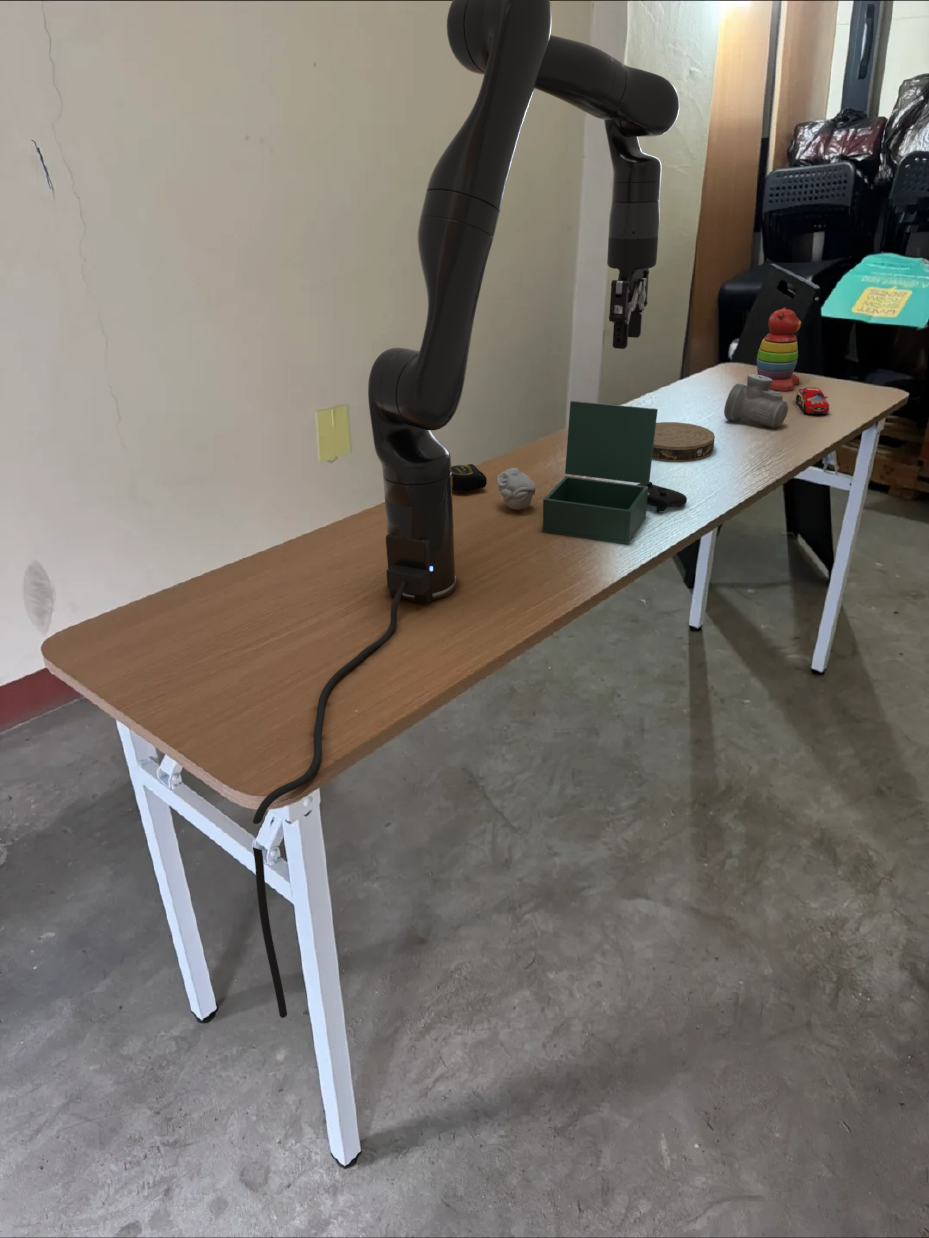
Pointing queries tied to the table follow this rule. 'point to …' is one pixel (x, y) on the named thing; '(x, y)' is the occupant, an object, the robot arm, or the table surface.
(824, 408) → the race car
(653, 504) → the game controller
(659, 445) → the wood slice coaster
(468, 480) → the tape measure
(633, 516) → the chest
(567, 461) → the lid
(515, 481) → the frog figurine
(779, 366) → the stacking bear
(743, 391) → the pipe fitting
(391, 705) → the table surface
